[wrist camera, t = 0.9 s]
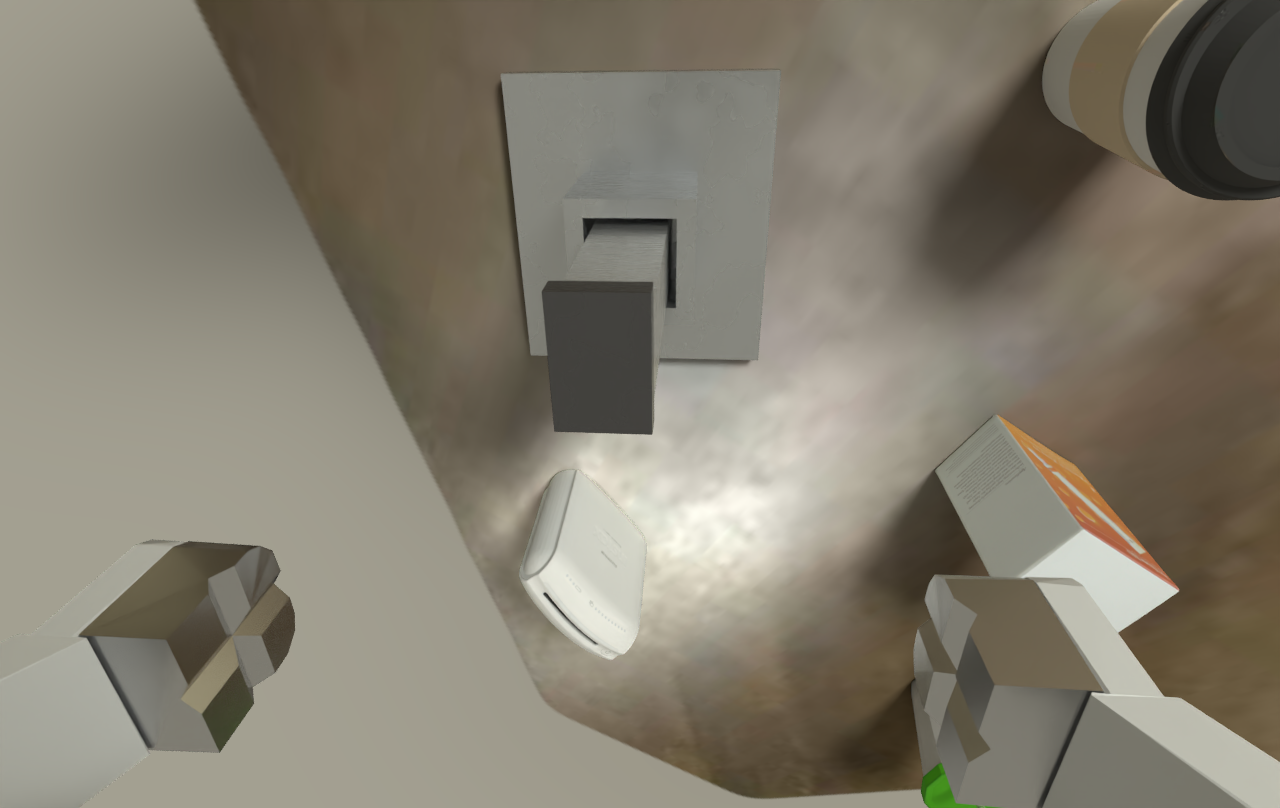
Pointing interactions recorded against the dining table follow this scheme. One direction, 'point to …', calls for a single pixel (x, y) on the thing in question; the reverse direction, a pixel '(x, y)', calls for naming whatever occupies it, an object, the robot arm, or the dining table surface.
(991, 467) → the small box
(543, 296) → the column
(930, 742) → the cup
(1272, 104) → the coffee cup
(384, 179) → the dining table surface
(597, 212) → the stand base
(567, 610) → the photo printer
